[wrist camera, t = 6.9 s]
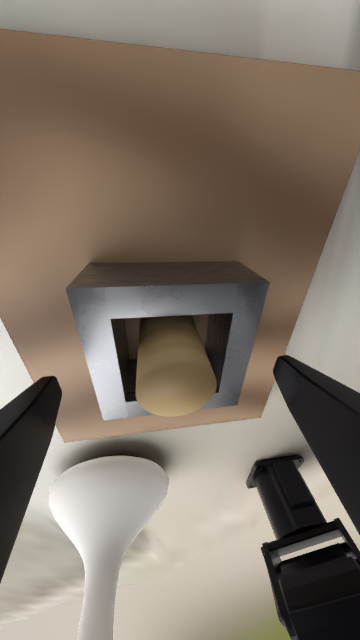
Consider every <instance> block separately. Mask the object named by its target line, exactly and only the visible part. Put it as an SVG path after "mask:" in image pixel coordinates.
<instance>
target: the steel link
mask: <svg viewBox="0 0 360 640" xmlns="http://www.w3.org/2000/svg"><path fill="white" fill-rule="evenodd" d="M269 284H270V282H269V281H267V280H266V279H264V278H263V277H261V276H260V275H258V274H257V273H255V272H254V271H252V270H251V269H249V268H248V267H246V266H245V265H243V264H242V263H240V262H239V261H201V262H130V263H88V264H87V265H86V267H85V268H84V269H83V270H82V271H81V272H80V273H79V274H78V275H77V276H76V277H75V279H74V280H73V281H72V282H71V283H70V284H69V285H68V286H67V287H66V288H65V289H66V292H67V296H68V299H69V303H70V306H71V310H72V313H73V317H74V320H75V323H76V327H77V330H78V334H79V337H80V341H81V344H82V348H83V351H84V355H85V358H86V362H87V365H88V369H89V372H90V376H91V379H92V382H93V386H94V389H95V393H96V396H97V400H98V403H99V407H100V410H101V414H102V417H103V421H104V420H113V419H122V418H130V417H139V416H148V415H155V414H152V413H150V412H148V411H146V410H145V409H143V408H142V407H141V406H140V404H139V403H138V401H137V399H136V376H137V359H130V356H129V349H128V342H127V335H126V328H125V320H124V318H140V317H160V316H180V315H200V314H209V316H208V325H207V334H206V343H205V352H206V354H207V357H208V359H209V362H210V365H211V367H212V370H213V372H214V375H215V378H216V382H217V387H216V391H215V393H214V395H213V397H212V398H211V400H210V401H209V402H208V403H207V404H206V405H204V406H203V407H201V408H200V409H209V408H218V407H227V406H235V405H238V401H239V397H240V394H241V390H242V386H243V382H244V379H245V375H246V371H247V367H248V363H249V360H250V356H251V352H252V348H253V345H254V341H255V337H256V333H257V330H258V326H259V322H260V318H261V315H262V311H263V307H264V303H265V299H266V296H267V292H268V288H269ZM200 409H198V410H200Z"/></svg>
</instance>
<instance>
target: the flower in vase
mask: <svg viewBox="0 0 360 640" xmlns="http://www.w3.org/2000/svg"><path fill="white" fill-rule="evenodd" d="M168 484H169V478H168V476H167V475H166V473H165V472H164V470H163V469H162V468H161V466H159V465H158V464H156V463H155V462H153V461H150V460H147V459H144V458H139V457H133V456H107V457H100V458H96V459H92V460H88V461H85V462H82V463H79V464H77V465H74V466H72V467H71V468H69V469H67V470H66V471H64V472H63V473H62V474H61V475H60V476H59V477H58V478H57V479H56V480H55V481H54V483H53V484H52V485H51V487H50V489H49V507H50V509H51V511H52V513H53V515H54V517H55V519H56V521H57V522H58V524H59V525H60V526H61V528H62V529H63V530H64V532H65V533H66V534H67V536H68V537H69V538H70V540H71V541H72V542H73V543H74V545H75V546H76V548H77V549H78V551H79V552H80V555H81V557H82V559H83V562H84V568H85V591H84V599H83V606H82V614H81V620H80V625H79V630H78V636H77V640H113V620H114V604H115V594H116V585H117V579H118V574H119V569H120V566H121V563H122V560H123V557H124V555H125V553H126V552H127V550H128V548H129V546H130V545H131V543H132V542H133V540H134V539H135V538H136V536H137V535H138V534H139V533H140V531H141V530H142V529H143V528H144V526H145V525H146V524H147V523H148V521H149V520H150V519H151V517H152V516H153V515H154V513H155V512H156V511H157V509H158V508H159V506H160V505H161V503H162V501H163V500H164V498H165V496H166V493H167V489H168Z"/></svg>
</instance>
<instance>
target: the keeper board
mask: <svg viewBox="0 0 360 640" xmlns="http://www.w3.org/2000/svg"><path fill="white" fill-rule="evenodd" d="M359 150H360V71H356V70H347V69H339V68H330V67H322V66H313V65H305V64H296V63H288V62H279V61H271V60H262V59H254V58H245V57H236V56H228V55H219V54H211V53H202V52H194V51H185V50H177V49H168V48H160V47H151V46H143V45H134V44H126V43H117V42H109V41H100V40H92V39H83V38H75V37H66V36H58V35H49V34H41V33H32V32H23V31H15V30H6V29H0V318H1V320H2V322H3V324H4V326H5V328H6V330H7V332H8V334H9V336H10V338H11V340H12V341H13V343H14V345H15V347H16V349H17V351H18V353H19V355H20V357H21V359H22V361H23V363H24V365H25V367H26V369H27V371H28V373H29V375H30V376H31V378H32V380H33V382H34V383H35V382H36V381H37V380H39V379H40V378H41V377H44V376H55V377H56V378H57V380H58V382H59V385H60V387H61V389H62V398H61V402H60V407H59V411H58V415H57V419H56V423H55V425H56V427H57V429H58V431H59V433H60V435H61V437H62V439H63V441H64V443H66V442H74V441H82V440H89V439H97V438H105V437H113V436H120V435H128V434H136V433H144V432H152V431H159V430H167V429H175V428H183V427H190V426H198V425H206V424H214V423H222V422H229V421H237V420H245V419H253V418H260V417H261V416H262V413H263V410H264V408H265V405H266V402H267V400H268V397H269V394H270V391H271V389H272V386H273V383H274V381H275V377H274V375H273V368H274V365H275V362H276V359H277V357H278V356H283V355H284V353H285V351H286V348H287V345H288V343H289V340H290V337H291V334H292V332H293V329H294V326H295V324H296V321H297V318H298V316H299V313H300V310H301V307H302V305H303V302H304V299H305V297H306V294H307V291H308V288H309V286H310V283H311V280H312V278H313V275H314V272H315V269H316V267H317V264H318V261H319V259H320V256H321V253H322V250H323V248H324V245H325V242H326V240H327V237H328V234H329V232H330V229H331V226H332V223H333V221H334V218H335V215H336V213H337V210H338V207H339V204H340V202H341V199H342V196H343V194H344V191H345V188H346V185H347V183H348V180H349V177H350V175H351V172H352V169H353V166H354V164H355V161H356V158H357V156H358V153H359ZM201 261H239V262H240V263H242V264H243V265H245V266H246V267H248V268H249V269H251V270H252V271H254V272H255V273H257V274H258V275H260V276H261V277H263V278H264V279H266V280H267V281H269V282H270V284H269V288H268V292H267V296H266V299H265V303H264V307H263V311H262V315H261V318H260V322H259V326H258V330H257V333H256V337H255V341H254V345H253V348H252V352H251V356H250V360H249V363H248V367H247V371H246V375H245V379H244V382H243V386H242V390H241V394H240V397H239V401H238V405H235V406H227V407H218V408H209V409H200V408H201V407H203V406H204V405H206V404H207V403H208V402H209V401H210V400H211V398H212V397H213V395H214V393H215V391H216V387H217V382H216V378H215V375H214V372H213V370H212V367H211V365H210V362H209V359H208V357H207V354H206V352H205V343H206V334H207V325H208V316H209V314H200V315H180V316H160V317H140V318H124V320H125V328H126V335H127V342H128V349H129V356H130V359H137V376H136V399H137V401H138V403H139V404H140V406H141V407H142V408H143V409H145V410H146V411H148V412H150V413H152V414H155V415H148V416H139V417H130V418H122V419H113V420H104V421H103V417H102V414H101V410H100V407H99V403H98V400H97V396H96V393H95V389H94V386H93V382H92V379H91V376H90V372H89V369H88V365H87V362H86V358H85V355H84V351H83V348H82V344H81V341H80V337H79V334H78V330H77V327H76V323H75V320H74V317H73V313H72V310H71V306H70V303H69V299H68V296H67V292H66V289H65V288H66V287H67V286H68V285H69V284H70V283H71V282H72V281H73V280H74V279H75V277H76V276H77V275H78V274H79V273H80V272H81V271H82V270H83V269H84V268H85V267H86V265H87V264H88V263H130V262H201ZM198 409H200V410H198Z"/></svg>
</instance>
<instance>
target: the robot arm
mask: <svg viewBox="0 0 360 640" xmlns="http://www.w3.org/2000/svg"><path fill="white" fill-rule="evenodd" d="M273 375H274V377H275V379H276V382H277V384H278V386H279V388H280V391H281V393H282V395H283V398H284V400H285V402H286V404H287V406H288V408H289V410H290V412H291V414H292V416H293V417H294V419H295V421H296V423H297V425H298V426H299V428H300V430H301V432H302V433H303V435H304V437H305V439H306V440H307V442H308V444H309V446H310V448H311V449H312V451H313V453H314V455H315V456H316V458H317V460H318V462H319V464H320V465H321V467H322V469H323V471H324V472H325V474H326V476H327V478H328V480H329V481H330V483H331V485H332V487H333V488H334V490H335V492H336V494H337V496H338V497H339V499H340V501H341V503H342V504H343V506H344V508H345V510H346V511H347V513H348V515H349V517H350V518H351V520H352V522H353V524H354V526H355V527H356V529H357V531H358V533H359V535H360V393H358V392H357V391H355V390H353V389H351V388H349V387H347V386H345V385H343V384H341V383H340V382H338V381H336V380H334V379H332V378H330V377H328V376H326V375H325V374H323V373H321V372H319V371H317V370H315V369H313V368H311V367H309V366H308V365H306V364H304V363H302V362H300V361H298V360H296V359H294V358H293V357H291V356H288V355H283V356H278V357H277V359H276V362H275V365H274V368H273ZM61 398H62V389H61V387H60V385H59V382H58V380H57V378H56V377H55V376H44V377H41V378H40V379H39V380H37V381H36V382H35V383H34V384H32V385H31V386H30V387H28V388H27V389H26V390H25V391H23V392H22V393H21V394H20V395H18V396H17V397H16V398H14V399H13V400H12V401H11V402H9V403H8V404H7V405H5V406H4V407H3V408H2V409H0V583H1V580H2V577H3V574H4V571H5V568H6V566H7V563H8V560H9V557H10V554H11V552H12V549H13V546H14V543H15V540H16V537H17V535H18V532H19V529H20V526H21V523H22V521H23V518H24V515H25V512H26V509H27V507H28V504H29V501H30V498H31V495H32V492H33V490H34V487H35V484H36V481H37V478H38V476H39V473H40V470H41V467H42V464H43V461H44V459H45V456H46V453H47V450H48V447H49V445H50V442H51V439H52V435H53V431H54V427H55V423H56V419H57V415H58V411H59V407H60V402H61ZM303 461H304V459H303V457H302V456H294V457H288V458H281V459H275V460H269V461H262V462H257V463H256V464H255V465H254V467H253V469H252V472H251V474H250V476H249V479H248V481H247V483H246V485H247V488H254V487H257V490H258V492H259V495H260V498H261V500H262V503H263V505H264V508H265V511H266V513H267V516H268V519H269V521H270V524H271V526H272V529H273V531H274V534H275V537H276V540H275V541H272V542H270V543H268V542H266V543H263V544H262V545H263V547H261V550H262V553H263V556H264V559H265V562H266V566H267V569H268V573H269V577H270V582H271V586H272V591H273V595H274V600H275V605H276V609H277V614H278V617H279V620H280V622H281V624H282V625H283V626H285V628H286V629H287V631H288V633H289V635H290V637H291V640H360V551H359V550H358V548H357V546H356V545H355V543H354V542H353V540H352V538H351V537H350V535H349V534H348V532H347V530H346V529H345V527H344V526H343V524H342V522H341V521H340V519H339V518H336V519H334V521H332V522H329V523H327V522H326V520H325V518H324V516H323V515H322V513H321V511H320V509H319V507H318V505H317V504H316V502H315V499H314V497H313V495H312V494H311V492H310V490H309V488H308V487H307V485H306V483H305V481H304V479H303V478H302V476H301V474H300V472H299V470H298V468H299V467H300V465H301V464H302V462H303ZM341 536H342V538H343V540H344V541H345V542H343V543H340V544H339V543H338V544H334V545H331V546H328V547H325V548H322V549H319V550H316V551H312V552H309V553H306V554H303V555H300V556H297V557H294V558H291V559H288V560H284V561H281V559H280V556H282V555H285V554H288V553H292V552H295V551H298V550H301V549H304V548H307V547H310V546H313V545H316V544H319V543H323V542H326V541H329V540H332V539H335V538H337V537H341Z"/></svg>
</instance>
